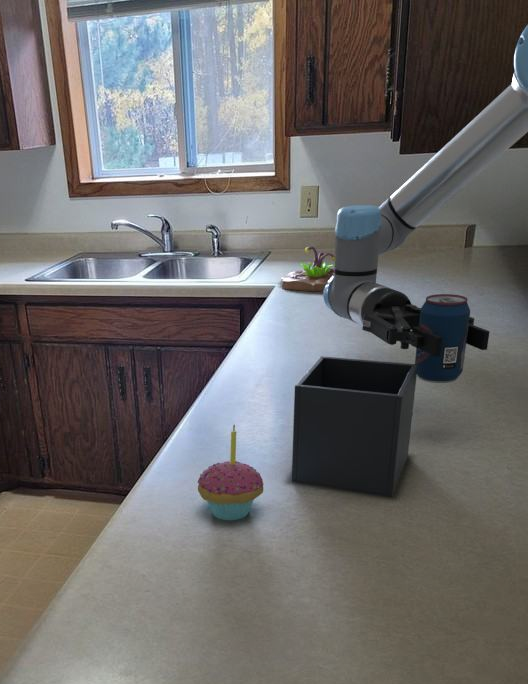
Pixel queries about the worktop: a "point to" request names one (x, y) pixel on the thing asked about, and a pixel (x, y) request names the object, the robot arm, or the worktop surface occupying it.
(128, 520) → the worktop surface
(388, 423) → the open dark gray box
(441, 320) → the soda can
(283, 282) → the plant
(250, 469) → the cupcake
